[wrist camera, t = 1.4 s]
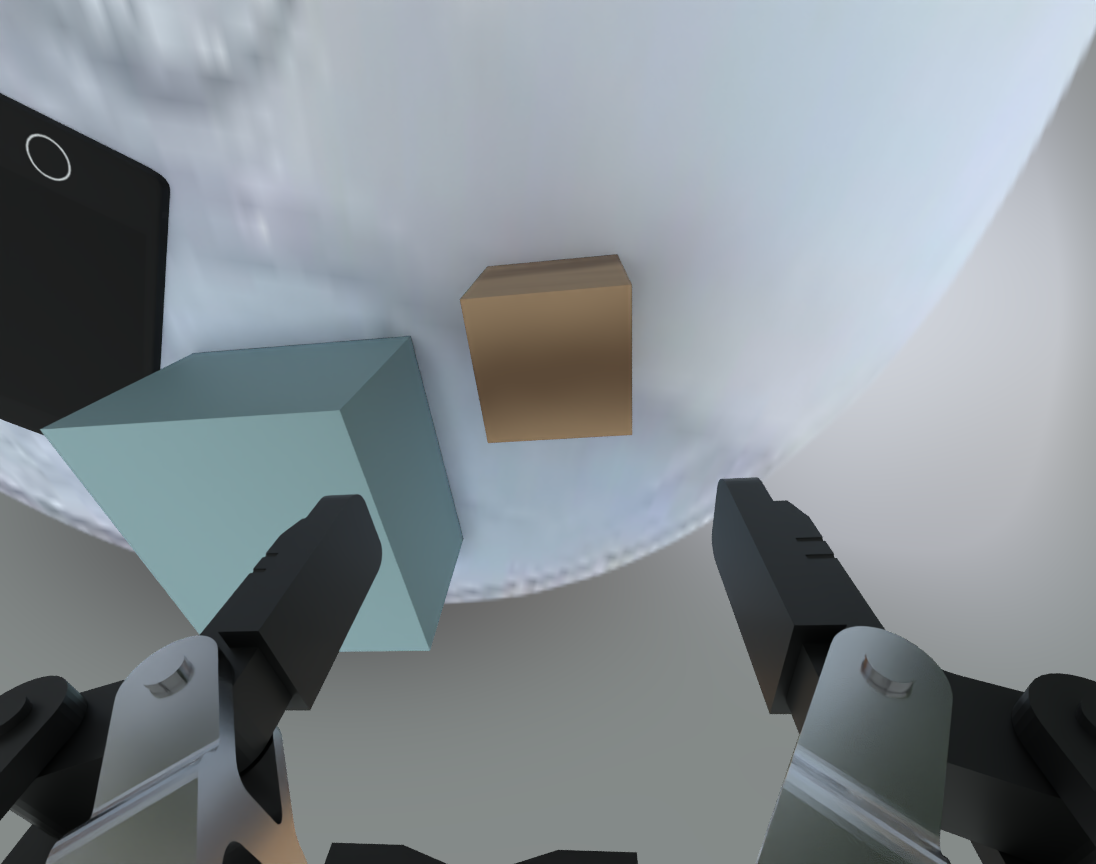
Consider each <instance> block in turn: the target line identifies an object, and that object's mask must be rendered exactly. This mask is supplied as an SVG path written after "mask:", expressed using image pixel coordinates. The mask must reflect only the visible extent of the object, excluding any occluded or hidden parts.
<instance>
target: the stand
mask: <svg viewBox="0 0 1096 864" xmlns="http://www.w3.org/2000/svg"><path fill="white" fill-rule="evenodd" d="M40 430H41V431H42V433H43V434H44V435H45V437H46V438H47V439H48V440H49V442H50V443H51V444H52V446H53V447H54V448H55V449H56V451H57V452H58V453H59V455H60V456H61V457H62V458H63V460H64V461H65V462H66V464H67V465H68V466H69V467H70V469H71V470H72V471H73V473H74V474H75V475H76V476H77V478H78V479H79V480H80V482H81V483H82V484H83V485H84V487H85V488H86V489H87V491H88V492H89V493H90V494H91V496H92V497H93V498H94V500H95V501H96V502H97V503H98V505H99V506H100V507H101V509H102V510H103V511H104V512H105V514H106V515H107V516H108V518H109V519H110V520H111V521H112V523H113V524H114V525H115V527H116V528H117V529H118V530H119V532H120V533H121V534H122V536H123V537H124V538H125V539H126V541H127V542H128V543H129V545H130V546H131V547H132V548H133V550H134V551H135V552H136V554H137V555H138V556H139V557H140V559H141V560H142V561H143V563H144V564H145V565H146V566H147V568H148V569H149V570H150V571H151V573H152V574H153V575H154V577H155V578H156V579H157V580H158V582H159V583H160V584H161V586H162V587H163V588H164V589H165V591H166V592H167V593H168V595H169V596H170V597H171V598H172V600H173V601H174V602H175V603H176V605H177V606H178V607H179V609H180V610H181V611H182V613H183V614H184V615H185V616H186V618H187V619H188V620H189V622H190V623H191V624H192V625H193V627H194V628H195V629H196V631H197V632H198V633H199V634H201V633H202V631H203V630H204V629H205V628H206V626H207V625H208V624H209V623H210V621H211V620H212V619H213V618H214V616H215V615H216V614H217V613H218V612H219V610H220V609H221V608H222V607H223V605H224V604H225V603H226V602H227V600H228V599H229V598H230V597H231V595H232V594H233V593H234V592H235V591H236V589H237V588H238V587H239V586H240V584H241V583H242V582H243V581H244V579H245V578H246V577H247V576H248V574H249V573H253V568H254V567H255V566H256V565H257V563H258V562H259V561H260V560H261V558H262V557H265V556H266V552H267V551H268V550H269V548H270V547H271V546H272V545H273V544H274V542H275V541H276V540H277V539H278V537H279V536H280V535H281V534H282V533H284V532H285V531H286V530H288V529H289V528H290V527H292V526H293V525H294V524H295V523H297V522H298V521H299V520H301V519H304V518H306V517H307V516H308V514H309V513H310V512H311V511H312V509H313V508H314V507H315V505H316V504H317V503H318V502H319V500H320V499H321V498H322V497H324V496H328V495H349V494H359V495H361V496H362V497H363V498H364V500H365V502H366V505H367V507H368V510H369V513H370V515H371V518H372V521H373V523H374V526H375V529H376V531H377V534H378V536H379V539H380V542H381V546H382V561H381V566H380V569H379V571H378V573H377V575H376V577H375V579H374V581H373V583H372V585H371V587H370V589H369V591H368V594H367V596H366V598H365V600H364V602H363V604H362V606H361V608H360V610H359V612H358V614H357V616H356V618H355V620H354V622H353V624H352V626H351V628H350V630H349V632H348V634H347V636H346V638H345V640H344V642H343V644H342V646H341V648H340V650H339V652H343V651H427V650H430V648H431V645H432V641H433V638H434V635H435V631H436V628H437V625H438V622H439V618H440V614H441V611H442V608H443V605H444V602H445V598H446V595H447V591H448V588H449V585H450V581H451V578H452V575H453V571H454V568H455V565H456V561H457V558H458V555H459V551H460V548H461V544H462V541H463V536H462V533H461V529H460V525H459V521H458V517H457V513H456V510H455V506H454V502H453V498H452V494H451V490H450V487H449V483H448V479H447V475H446V471H445V467H444V464H443V460H442V456H441V452H440V448H439V444H438V441H437V437H436V433H435V429H434V425H433V421H432V417H431V414H430V410H429V406H428V402H427V398H426V394H425V391H424V387H423V383H422V379H421V375H420V371H419V368H418V364H417V360H416V356H415V352H414V348H413V345H412V341H411V337H410V336H407V337H394V338H381V339H369V340H356V341H343V342H331V343H318V344H306V345H293V346H280V347H268V348H255V349H242V350H230V351H217V352H204V353H193V354H191V355H189V356H187V357H185V358H183V359H181V360H179V361H177V362H175V363H173V364H171V365H169V366H167V367H165V368H163V369H161V370H159V371H157V372H155V373H153V374H151V375H149V376H147V377H145V378H143V379H141V380H139V381H137V382H135V383H133V384H131V385H129V386H126V387H124V388H122V389H120V390H118V391H116V392H114V393H112V394H110V395H108V396H106V397H104V398H102V399H100V400H98V401H96V402H94V403H92V404H90V405H88V406H86V407H84V408H82V409H80V410H78V411H76V412H74V413H72V414H70V415H68V416H66V417H64V418H62V419H60V420H58V421H56V422H54V423H52V424H50V425H48V426H46V427H44V428H42V429H40Z"/></svg>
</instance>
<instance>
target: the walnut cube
mask: <svg viewBox="0 0 1096 864" xmlns="http://www.w3.org/2000/svg"><path fill="white" fill-rule="evenodd" d="M460 303H461V308H462V313H463V318H464V323H465V328H466V334H467V339H468V344H469V349H470V354H471V359H472V364H473V369H474V374H475V380H476V385H477V390H478V395H479V400H480V405H481V410H482V415H483V420H484V426H485V431H486V436H487V441H488V443H497V442H514V441H532V440H549V439H567V438H585V437H602V436H620V435H632V284H631V282H630V280H629V278H628V276H627V274H626V271H625V269H624V267H623V265H622V263H621V261H620V259H619V257H618V255H617V254H616V255H605V256H594V257H584V258H573V259H562V260H552V261H541V262H530V263H519V264H509V265H498V266H488V267H487V268H486V269H485V270H484V271H483V273H482V274H481V275H480V276H479V277H478V279H477V280H476V281H475V282H474V283H473V284H472V286H471V287H470V288H469V289H468V290H467V292H466V293H465V294H464V295H463V296H462V298H461V299H460Z"/></svg>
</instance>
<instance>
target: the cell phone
mask: <svg viewBox="0 0 1096 864" xmlns="http://www.w3.org/2000/svg"><path fill="white" fill-rule="evenodd" d="M169 198H170V187H169V184H168V182H167V181H166V179H165V178H164V177H162V176H161V175H160V174H158V173H157V172H155V171H154V170H152V169H150V168H148V167H147V166H145V165H143V164H141V163H139V162H137V161H135V160H133V159H131V158H129V157H127V156H125V155H123V154H121V153H119V152H117V151H115V150H113V149H111V148H109V147H107V146H105V145H103V144H101V143H99V142H97V141H95V140H93V139H91V138H89V137H87V136H85V135H83V134H81V133H79V132H77V131H75V130H73V129H71V128H69V127H67V126H65V125H63V124H61V123H59V122H57V121H55V120H53V119H51V118H49V117H47V116H45V115H43V114H41V113H39V112H37V111H35V110H33V109H31V108H29V107H27V106H25V105H23V104H21V103H19V102H17V101H15V100H13V99H11V98H9V97H7V96H5V95H3V94H1V93H0V419H2V420H4V421H7V422H10V423H12V424H15V425H18V426H20V427H23V428H26V429H28V430H31V431H34V432H37V433H39V434H42V435H44V434H43V433H42V431H41V430H40V429H42V428H44V427H46V426H48V425H50V424H52V423H54V422H56V421H58V420H60V419H62V418H64V417H66V416H68V415H70V414H72V413H74V412H76V411H78V410H80V409H82V408H84V407H86V406H88V405H90V404H92V403H94V402H96V401H98V400H100V399H102V398H104V397H106V396H108V395H110V394H112V393H114V392H116V391H118V390H120V389H122V388H124V387H126V386H129V385H131V384H133V383H135V382H137V381H139V380H141V379H143V378H145V377H147V376H149V375H151V374H153V373H155V372H157V371H159V370H160V362H161V344H162V326H163V308H164V289H165V271H166V253H167V235H168V217H169Z"/></svg>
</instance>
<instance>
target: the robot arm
mask: <svg viewBox="0 0 1096 864" xmlns="http://www.w3.org/2000/svg"><path fill="white" fill-rule="evenodd" d="M712 546H713V553H714V558H715V561H716V564H717V567H718V570H719V573H720V576H721V578H722V581H723V584H724V587H725V590H726V592H727V595H728V598H729V601H730V604H731V606H732V609H733V612H734V615H735V618H736V620H737V623H738V626H739V629H740V632H741V634H742V637H743V640H744V643H745V646H746V648H747V651H748V654H749V657H750V660H751V662H752V665H753V668H754V671H755V674H756V676H757V679H758V682H759V685H760V688H761V690H762V693H763V696H764V699H765V702H766V704H767V707H768V710H769V713H770V714H792V717H793V719H794V722H795V725H796V727H797V729H798V732H799V737H798V740H797V743H796V746H795V749H794V752H793V755H792V758H791V761H790V764H789V767H788V770H787V772H786V776H785V778H784V781H783V784H782V787H781V790H780V793H779V796H778V799H777V802H776V805H775V808H774V811H773V814H772V817H771V820H770V822H769V825H768V828H767V831H766V834H765V837H764V840H763V843H762V846H761V849H760V852H759V855H758V858H757V861H756V864H951V863H950V861H949V860H948V858H946V857H945V856H943V855H942V853H941V849H940V831H941V830H944V831H947V832H950V833H952V834H955V835H958V836H960V837H963V838H966V839H969V840H970V841H971V843H972V844H973V847H974V848H975V850H976V852H977V854H978V856H979V857H980V859H981V861H982V863H983V864H1096V682H1095V681H1092V680H1089V679H1086V678H1082V677H1078V676H1074V675H1068V674H1060V673H1059V674H1058V673H1056V674H1046V675H1041V676H1040V677H1038V678H1036V679H1034V681H1033V682H1032V683H1031V684H1030V685H1029V687H1028V688H1027V689H1026V691H1025V692H1021V691H1017V690H1014V689H1009V688H1006V687H1002V686H998V685H994V684H990V683H986V682H983V681H979V680H975V679H971V678H967V677H963V676H960V675H956V674H953V673H950V672H947V671H944V670H942V669H941V668H940V667H939V666H938V665H937V663H936V662H935V661H934V660H933V659H932V658H931V657H930V656H929V655H927V654H926V653H925V652H924V651H923V650H921V649H920V648H918V646H916V645H915V644H913V643H911V642H910V641H908V640H907V639H905V638H902V637H901V636H899V635H897V634H894V633H892V632H889V631H886V630H885V629H884V627H883V626H882V625H881V623H880V622H879V620H878V619H877V617H876V616H875V614H874V613H873V611H872V610H871V608H870V607H869V605H868V604H867V602H866V601H865V599H864V598H863V596H862V595H861V593H860V592H859V590H858V589H857V588H856V586H855V585H854V583H853V581H852V580H851V578H850V577H849V576H848V574H847V573H846V571H845V570H844V568H843V567H842V565H841V564H840V562H839V561H838V559H837V558H834V553H833V552H832V550H831V549H830V547H829V546H828V544H827V543H826V541H823V539H822V535H821V534H820V533H819V531H818V530H817V528H816V526H815V525H814V523H813V522H812V521H811V519H810V518H809V516H807V515H806V514H804V513H803V512H802V511H800V510H799V509H798V508H797V507H795V506H794V505H793V504H791V503H790V502H788V501H773V500H772V498H771V497H770V495H769V493H768V492H767V490H766V488H765V486H764V485H763V483H762V482H761V480H760V479H759V478H756V477H755V478H733V479H720V480H719V482H718V486H717V494H716V503H715V511H714V520H713V529H712ZM381 561H382V546H381V542H380V539H379V536H378V534H377V531H376V529H375V526H374V523H373V521H372V518H371V515H370V513H369V510H368V507H367V505H366V502H365V500H364V498H363V497H362V496H361V495H359V494H349V495H328V496H324V497H322V498H321V499H320V500H319V502H318V503H317V504H316V505H315V507H314V508H313V509H312V511H311V512H310V513H309V514H308V516H307V517H306V518H304V519H301V520H299V521H298V522H297V523H295V524H294V525H293V526H292V527H290V528H289V529H288V530H286V531H285V532H284V533H282V534H281V535H280V536H279V537H278V539H277V540H276V541H275V542H274V544H273V545H272V546H271V547H270V548H269V550H268V551H267V552H266V556H265V557H262V558H261V560H260V561H259V562H258V563H257V565H256V566H255V567H254V568H253V573H249V574H248V576H247V577H246V578H245V579H244V581H243V582H242V583H241V584H240V586H239V587H238V588H237V589H236V591H235V592H234V593H233V594H232V595H231V597H230V598H229V599H228V600H227V602H226V603H225V604H224V605H223V607H222V608H221V609H220V610H219V612H218V613H217V614H216V615H215V616H214V618H213V619H212V620H211V621H210V623H209V624H208V625H207V626H206V628H205V629H204V630H203V631H202V633H201V634H200V635H199V636H191V637H187V638H183V639H180V640H178V641H175V642H173V643H170V644H169V645H167V646H165V647H163V648H161V649H159V650H158V651H156V652H155V653H153V654H152V655H150V656H149V657H148V658H146V659H145V660H144V661H143V662H142V663H141V664H139V665H138V666H137V667H136V668H135V669H134V670H133V671H132V672H131V673H130V674H129V675H128V677H127V678H126V679H125V680H122V681H119V682H116V683H112V684H109V685H105V686H102V687H98V688H95V689H91V690H88V691H85V692H81V693H79V692H78V691H77V690H76V689H75V688H74V687H72V686H71V685H70V684H69V683H68V682H67V681H66V680H65V679H64V678H62V677H59V676H46V677H41V678H37V679H34V680H31V681H28V682H26V683H23V684H21V685H19V686H17V687H15V688H13V689H11V690H9V691H7V692H5V693H4V694H2V695H0V820H1V819H2V818H3V816H4V815H5V814H6V813H7V812H8V811H9V810H11V811H12V812H14V813H16V814H17V815H19V816H20V817H22V818H23V819H25V820H27V821H28V822H30V823H31V824H32V825H31V827H30V828H29V829H28V830H27V832H26V833H25V834H24V835H23V837H22V838H21V839H20V841H19V842H18V843H17V844H16V846H15V847H14V848H13V850H12V851H11V852H10V853H9V855H8V856H7V857H6V859H5V860H4V861H3V862H2V863H1V864H307V861H306V858H305V856H304V853H303V851H302V849H301V847H300V845H299V842H298V839H297V836H296V832H295V827H294V821H293V814H292V806H291V799H290V792H289V784H288V777H287V769H286V762H285V755H284V747H283V740H282V734H281V731H280V729H279V727H278V726H277V725H278V722H279V721H280V719H281V717H282V715H283V713H284V712H285V710H310V709H311V707H312V705H313V703H314V701H315V699H316V697H317V695H318V693H319V691H320V689H321V687H322V685H323V683H324V681H325V679H326V677H327V675H328V673H329V671H330V669H331V667H332V665H333V662H334V661H335V659H336V657H337V654H338V653H339V650H340V648H341V646H342V644H343V642H344V640H345V638H346V636H347V634H348V632H349V630H350V628H351V626H352V624H353V622H354V620H355V618H356V616H357V614H358V612H359V610H360V608H361V606H362V604H363V602H364V600H365V598H366V596H367V594H368V591H369V589H370V587H371V585H372V583H373V581H374V579H375V577H376V575H377V573H378V571H379V569H380V566H381ZM325 864H446V863H444V862H441V861H439V860H437V859H434V858H432V857H430V856H428V855H425V854H423V853H420V852H418V851H416V850H414V849H411V848H409V847H406V846H404V845H387V844H386V845H385V844H355V843H332V845H331V847H330V850H329V853H328V856H327V858H326V861H325ZM516 864H638V861H637V853H636V852H604V851H603V852H602V851H574V850H557V851H554V852H550V853H547V854H544V855H541V856H538V857H534V858H531V859H528V860H525V861H522V862H519V863H516Z"/></svg>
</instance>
